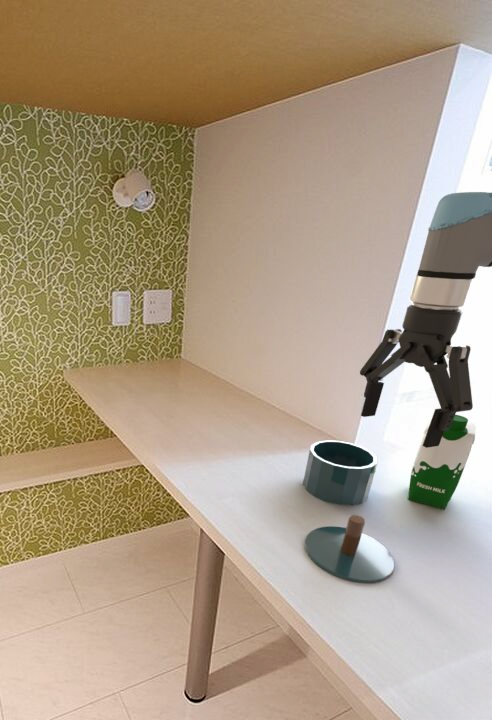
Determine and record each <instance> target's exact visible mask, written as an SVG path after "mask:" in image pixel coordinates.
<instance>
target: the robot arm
mask: <svg viewBox="0 0 492 720" xmlns="http://www.w3.org/2000/svg"><path fill="white" fill-rule="evenodd" d="M427 231H428V233H427V235H426V240H425V244H424V247H423V250H422V251H423V252H422V256H421V259H420V263H419V267H418V270H417V273H416V275H415V279H414V281H413V282H414V283H413V286H412V289H411V292H410V296H409V298H408V300H409V301H410V303H412V304H410V305H408V306H407V307H406V311H405V314H404V316H403V320H402V325H401V327H402V329H403V330H402V329H400V328H394V329H393V328H391V329H386V330H385V332H384V335H383V338H382V340H381V342H380V343H379V345H378V346H377V347H376V348H375V350H374V351H373V353H372V354H371V355H370V357H369V358H368V360H367V361H366V362H365V363H364V365H362V367H361V368H360V370H359V375H360V376H363V377H364V378H365V381H366V385H365V389H364V391H363V397H364V402H363V407H362V410H361V413H360V416H361V417H363V418H367V417H373V416H375V417H376V413H377V410H378V407H379V404H380V398H381V396H382V392H383V389H384V385H385V382H382V381H383V380H384V378H386V377H387V376H388V375H389V374H391V373H392V372H393V371H395V370H396V369H398V368H399V367H400V366H402V365H403V364H404V363H406V364H414V365H415V366H417V367H419V368H424V370H425V372H426V373H428V375H429V379H430V382H431V384H432V386H433V389H434V392H435V395H436V398H437V402H438V404H439V408H435V409H434V412H433V413H432V416H433V417H432V416H431V418H432V420H431V419H430V420H431V423H430V426H429V429H428V431H427V434H426V437H425V440H424V443H423V446H424V447H426V448H428V447H435V446H439V444H440V441H441V438H442V436H443V433H444V430H449V428H450V427H451V424H452V422H453V419H454V416H455V415H457V413H458V412H459V413H460V412H461V413H462V412H467V411H471V410H472V409H473V407H474V405H473V396H472V386H471V379H470V378H471V376H470V369H469V357H470V354H471V350H472V349H471V346H470V345H468V344H466V345H455V344H454V345H453V344H452V338H453V337H454V335H455V334H456V332H457V331H458V327H459V324H460V321H461V318H462V316H463V312H462V310H461V307H464V306H465V305H466V303H467V301H468V297H469V295H470V292H471V289H472V285H473V282H474V279H475V278H476V275H477V271H478V269H479V267H483V268H491V267H492V192H487V191H467V192H466V191H465V192H453V193H448V194H446V195H444V196H443V197H442V198H440V200H439V201H438V203H437V206H436V209H435V211H434V213H433V217H432V220H431V222H430V225H429V227H428V229H427ZM398 343H399V348H397V350H395V351H394V352H393V350H394V349H395V348H396V346H397V345H398ZM392 352H393V353H392ZM391 353H392V354H391ZM390 354H391V355H390ZM389 356H390V357H389ZM445 356H446V357H445ZM388 357H389V358H388ZM387 358H388V359H387ZM446 358H447V359H448V362H447V359H446ZM448 371H449V372H448Z"/></svg>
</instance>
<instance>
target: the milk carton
mask: <svg viewBox="0 0 492 720" xmlns="http://www.w3.org/2000/svg"><path fill="white" fill-rule="evenodd" d="M432 417H433V415H432V416H431V418H430V420H429V422H428V423H427V425H426V426H425V429H424V430H423V435H422V437H421V440H420V443H419V447H418V450H417V453H416V456H415V459H414V461H413V465H412V469H411V473H410V478H409V486H408V487H409V488H408V495H407V496H408V497H407V500H409V501H413V502H415V503H416V502H417V503H420V504H423V505H427V506H430V507H433V508H438V509H440V510H441V509H442V510H446V508H447V506H448V504H449V502H450V501H451V499H452V497H453V495H454V493H455V491H456V490H457V487H458V485H459V482H460V480H461V478H462V475H463V472H464V469H465V467H466V464H467V461H468V460H469V456H470V454H471V451H472V446H473V445H474V444H475V441H476V424H475V421H474V422H473V421H470V420H469V419H468V418H467V417H466V416H463V415H460V414H455V416H454V419H453V422H452V424H451V427H450V428H449V430H444V433H443V436H442V438H441V441H440V444H439V446H435V447H428V448H426V447H424V446H423V443H424V440H425V437H426V434H427V431H428V429H429V426H430V423H431V420H432Z"/></svg>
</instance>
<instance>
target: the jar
mask: <svg viewBox="0 0 492 720" xmlns="http://www.w3.org/2000/svg"><path fill="white" fill-rule="evenodd" d="M377 466H378V457H377V456H376V455H375V454H374V452H372V451H371V450H369V449H367V448H366V447H364V446H361V445H358V444H355V443H352V442H347V441H341V440H331V439H329V440H327V439H326V440H320V441H316V442H314V443H312V444H311V445H310V447H309V452H308V457H307V462H306V467H305V472H304V477H303V481H302V486H303V487H304V489H305V491H306V492H307V493H308V494H310V495H311V496H313V497H314V498H316V499H319V500H320V501H323V502H326V503H329V504H333V505H338V506H355V505H360V504H363V503H365V502H366V501H367V500H368V498H369V494H370V491H371V487H372V484H373V481H374V476H375V472H376V469H377Z"/></svg>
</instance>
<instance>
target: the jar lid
mask: <svg viewBox="0 0 492 720" xmlns="http://www.w3.org/2000/svg"><path fill="white" fill-rule="evenodd" d="M365 524H366V519H365V518H364V517H363V516H361V515H357V514H351V515H349V517H348V519H347V523H346V527H343V526H333V525H332V526H331V525H330V526H320V527H317V528H315V529H313V530H311V531H310V532H309V533H308V534H307V535H306V537H305V540H304V549H305V552H306V553H307V556H308V557H309V558H310V559H311V560H312V562H313V563H314V564H315V565H317V566H318V567H319V568H321V569H322V570H324V571H325V572H326V573H328V574H331V575H333V576H334V577H337V578H340V579H342V580H346V581H350V582H353V583H361V584H373V583H379V582H382V581H385V580H386V579H388V578H389V577H390V576H391V575H392V574H393V572H394V569H395V560H394V556H393V555H392V554H391V552H390V551H389V549H387V548H386V547H385V546H384V544H382V543H381V542H379V541H378V540H377V539H375V538H374V537H371V536H370V535H368V534H366V533H364V532H363V531H364V528H365Z"/></svg>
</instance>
